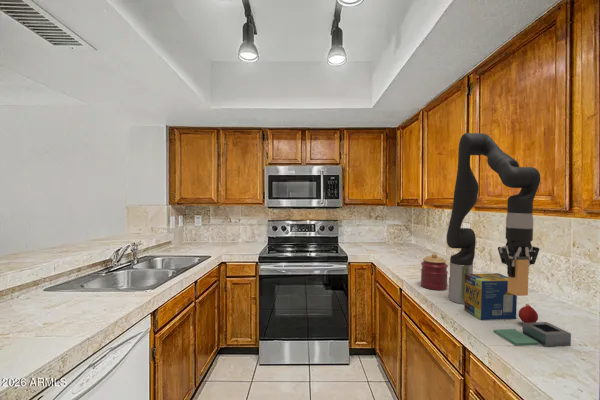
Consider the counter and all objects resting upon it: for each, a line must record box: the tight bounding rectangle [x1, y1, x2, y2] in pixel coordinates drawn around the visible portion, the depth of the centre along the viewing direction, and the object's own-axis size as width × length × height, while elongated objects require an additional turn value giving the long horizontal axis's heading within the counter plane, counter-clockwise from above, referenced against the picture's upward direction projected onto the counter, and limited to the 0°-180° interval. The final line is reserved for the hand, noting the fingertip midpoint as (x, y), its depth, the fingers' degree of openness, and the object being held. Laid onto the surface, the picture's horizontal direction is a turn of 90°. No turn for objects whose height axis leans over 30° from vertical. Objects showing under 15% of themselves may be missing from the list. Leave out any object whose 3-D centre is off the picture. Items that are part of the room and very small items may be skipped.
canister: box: [420, 252, 449, 291], centre depth 163 cm, size 13×13×18 cm
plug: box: [507, 255, 530, 297], centre depth 105 cm, size 4×4×13 cm
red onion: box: [517, 303, 539, 323], centre depth 116 cm, size 6×6×8 cm
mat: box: [493, 328, 539, 347], centre depth 106 cm, size 10×8×1 cm
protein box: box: [463, 272, 518, 321], centre depth 126 cm, size 10×15×16 cm
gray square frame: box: [522, 321, 572, 348], centre depth 105 cm, size 9×9×4 cm
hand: (517, 276), depth 105 cm, fingers closed on plug, 4 cm apart
